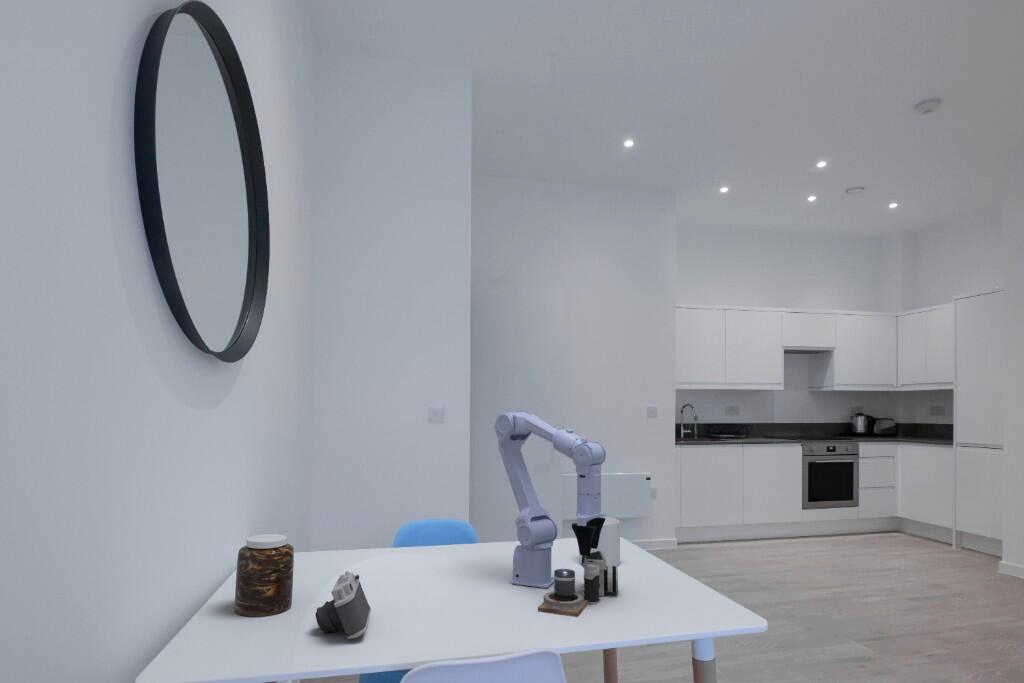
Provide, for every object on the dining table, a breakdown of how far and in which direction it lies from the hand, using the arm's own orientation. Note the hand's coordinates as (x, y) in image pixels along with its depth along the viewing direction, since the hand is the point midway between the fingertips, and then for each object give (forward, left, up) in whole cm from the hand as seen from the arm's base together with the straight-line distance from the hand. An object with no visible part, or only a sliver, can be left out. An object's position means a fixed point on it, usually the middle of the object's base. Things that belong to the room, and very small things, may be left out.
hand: (589, 551), depth 145 cm
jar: (-64, -36, -11) cm, 74 cm away
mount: (-4, -10, -10) cm, 15 cm away
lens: (-3, -10, -10) cm, 14 cm away
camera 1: (-41, -40, -11) cm, 58 cm away
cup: (-5, +32, -11) cm, 34 cm away
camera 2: (+2, +3, -11) cm, 11 cm away
